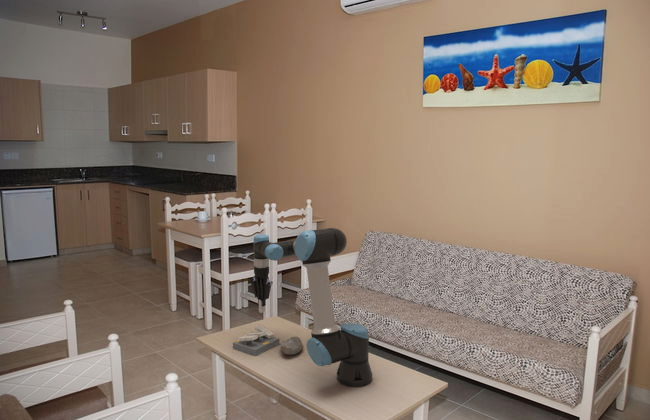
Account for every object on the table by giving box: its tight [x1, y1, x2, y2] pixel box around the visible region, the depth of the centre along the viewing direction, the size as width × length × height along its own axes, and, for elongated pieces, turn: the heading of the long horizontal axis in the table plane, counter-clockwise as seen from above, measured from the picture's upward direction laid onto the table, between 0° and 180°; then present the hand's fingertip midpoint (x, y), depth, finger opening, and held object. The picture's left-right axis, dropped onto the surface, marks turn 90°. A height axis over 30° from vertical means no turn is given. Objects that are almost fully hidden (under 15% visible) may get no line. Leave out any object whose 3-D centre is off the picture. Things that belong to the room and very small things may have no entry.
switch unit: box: [232, 336, 280, 357], centre depth 242 cm, size 15×17×5 cm
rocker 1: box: [237, 335, 258, 341], centre depth 237 cm, size 10×4×2 cm, turn 54°
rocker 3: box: [253, 323, 275, 338], centre depth 246 cm, size 10×4×2 cm, turn 54°
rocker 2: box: [245, 331, 266, 337], centre depth 242 cm, size 10×4×2 cm, turn 54°
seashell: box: [280, 336, 304, 356], centre depth 235 cm, size 9×12×15 cm
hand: (261, 311), depth 247 cm, fingers closed
